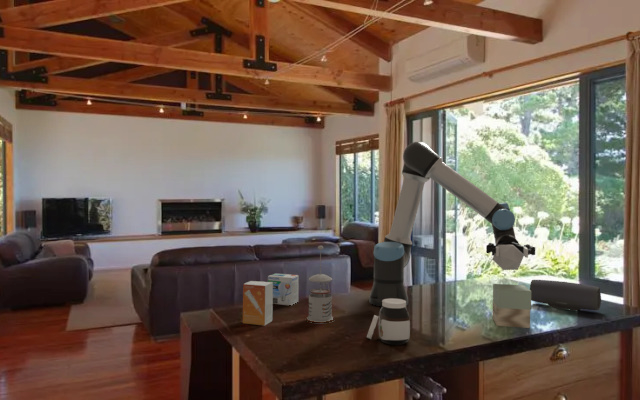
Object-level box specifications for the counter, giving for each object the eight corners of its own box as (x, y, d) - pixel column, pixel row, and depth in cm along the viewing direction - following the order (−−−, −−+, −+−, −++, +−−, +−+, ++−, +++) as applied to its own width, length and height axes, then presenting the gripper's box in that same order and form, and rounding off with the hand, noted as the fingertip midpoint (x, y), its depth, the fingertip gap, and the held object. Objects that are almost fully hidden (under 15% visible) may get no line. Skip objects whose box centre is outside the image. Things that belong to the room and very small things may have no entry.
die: (522, 274, 146) (531, 247, 150) (497, 260, 147) (507, 234, 150) (508, 279, 154) (518, 254, 158) (484, 266, 155) (494, 241, 158)
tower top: (498, 307, 149) (498, 289, 149) (492, 301, 158) (493, 283, 158) (531, 309, 147) (531, 290, 147) (523, 302, 156) (523, 285, 156)
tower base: (496, 326, 149) (496, 307, 149) (492, 318, 159) (492, 301, 159) (529, 328, 147) (530, 309, 147) (523, 320, 156) (523, 302, 156)
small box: (242, 323, 149) (242, 283, 149) (250, 318, 155) (251, 280, 155) (265, 326, 146) (265, 285, 146) (273, 321, 153) (273, 281, 152)
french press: (301, 321, 152) (301, 246, 152) (313, 313, 163) (314, 243, 163) (329, 324, 149) (329, 247, 149) (340, 315, 160) (340, 244, 159)
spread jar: (413, 346, 128) (413, 304, 128) (374, 348, 126) (375, 306, 125) (397, 333, 140) (397, 295, 140) (361, 335, 137) (362, 296, 137)
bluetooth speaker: (601, 311, 169) (601, 284, 169) (596, 316, 162) (596, 287, 162) (536, 301, 184) (536, 276, 184) (528, 305, 177) (528, 279, 177)
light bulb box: (266, 303, 178) (267, 275, 178) (274, 299, 184) (275, 273, 184) (291, 306, 174) (291, 277, 174) (299, 302, 180) (299, 274, 180)
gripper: (538, 257, 166) (547, 266, 144) (477, 254, 173) (477, 262, 151) (538, 236, 166) (547, 242, 144) (477, 234, 173) (477, 240, 151)
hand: (512, 252), depth 148 cm, fingers closed on die, 8 cm apart
